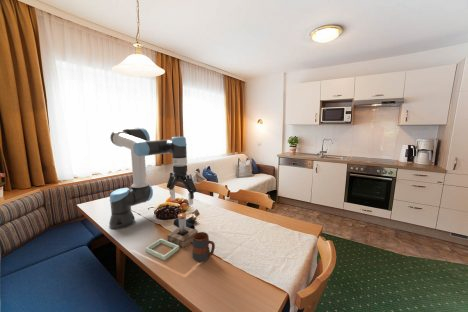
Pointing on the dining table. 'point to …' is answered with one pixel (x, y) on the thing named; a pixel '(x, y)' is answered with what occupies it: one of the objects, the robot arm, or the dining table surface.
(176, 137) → the robot arm
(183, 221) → the pin
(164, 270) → the dining table surface
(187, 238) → the socket block
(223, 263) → the dining table surface
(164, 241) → the pale green rectangular frame
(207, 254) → the mug
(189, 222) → the pipe connector
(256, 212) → the dining table surface
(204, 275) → the dining table surface
